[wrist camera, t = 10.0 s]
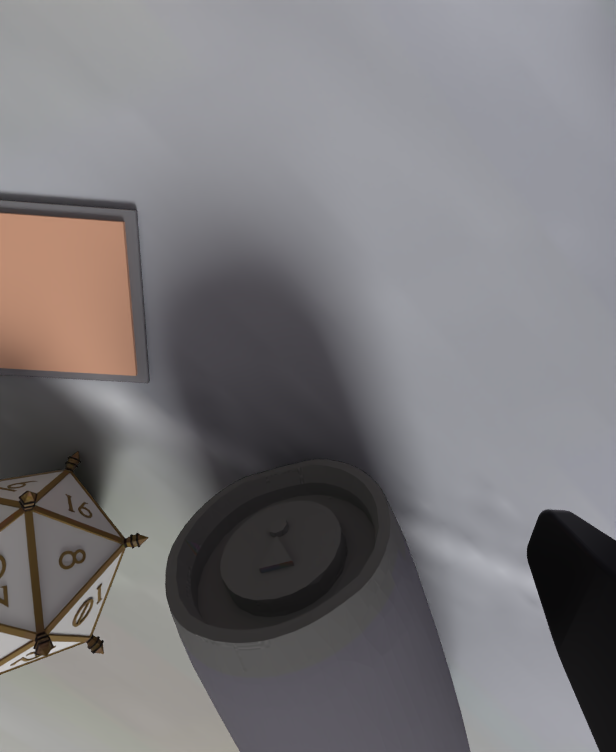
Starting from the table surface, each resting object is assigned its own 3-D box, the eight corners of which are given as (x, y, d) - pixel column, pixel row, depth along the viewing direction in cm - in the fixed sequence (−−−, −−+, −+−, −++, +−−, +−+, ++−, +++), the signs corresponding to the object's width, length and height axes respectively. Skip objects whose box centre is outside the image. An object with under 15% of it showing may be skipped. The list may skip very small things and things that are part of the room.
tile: (136, 210, 17) (133, 211, 17) (149, 381, 20) (146, 385, 19) (-61, 195, 17) (-68, 196, 16) (-18, 371, 19) (-25, 375, 19)
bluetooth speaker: (182, 472, 22) (101, 697, 13) (378, 420, 21) (441, 622, 12) (319, 742, 31) (328, 982, 22) (459, 714, 30) (529, 953, 21)
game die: (58, 440, 25) (-190, 447, 16) (194, 457, 22) (-14, 479, 13) (37, 613, 25) (-235, 727, 15) (174, 655, 22) (-60, 829, 12)
